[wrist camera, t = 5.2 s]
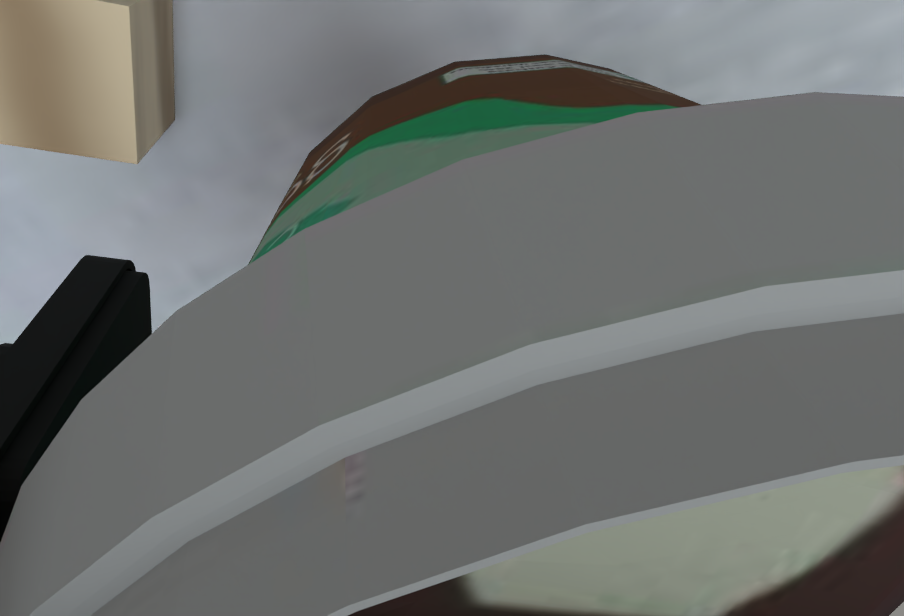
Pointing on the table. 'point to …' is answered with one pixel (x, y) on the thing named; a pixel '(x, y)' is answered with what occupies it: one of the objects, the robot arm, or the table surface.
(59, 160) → the table surface
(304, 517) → the food container
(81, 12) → the maple block
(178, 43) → the table surface
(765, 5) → the table surface
